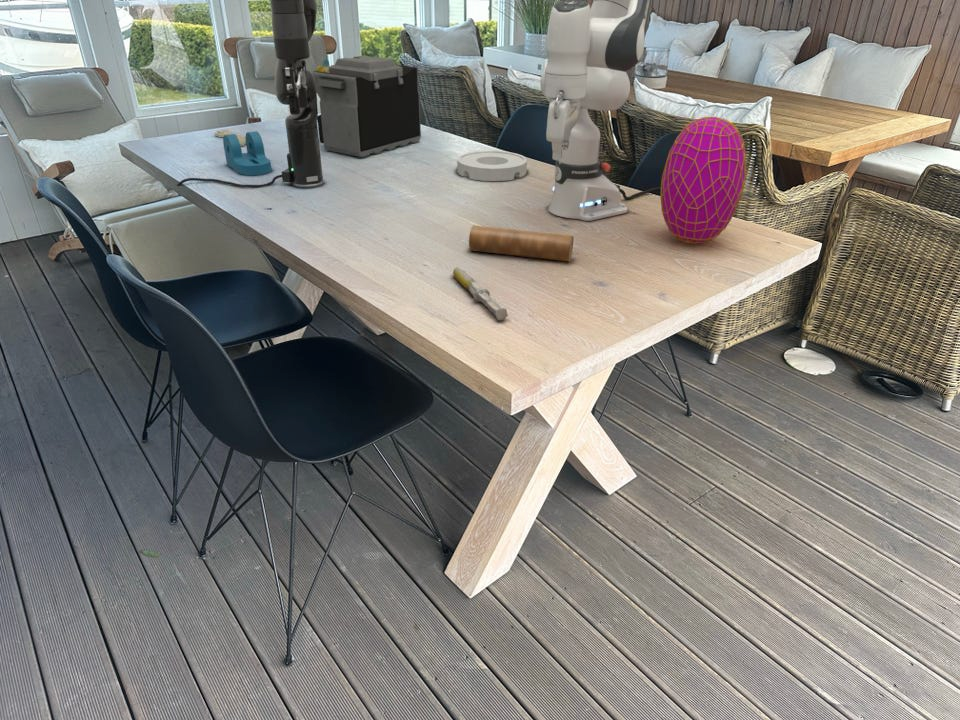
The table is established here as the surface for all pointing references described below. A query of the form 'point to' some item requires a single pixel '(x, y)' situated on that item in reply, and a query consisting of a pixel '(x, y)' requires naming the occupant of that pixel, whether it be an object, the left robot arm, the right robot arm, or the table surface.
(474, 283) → the syringe
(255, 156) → the camera mount
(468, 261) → the table surface
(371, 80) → the grey cooler box
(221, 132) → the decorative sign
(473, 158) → the ashtray
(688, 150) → the decorative egg
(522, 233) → the rod
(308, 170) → the left robot arm
